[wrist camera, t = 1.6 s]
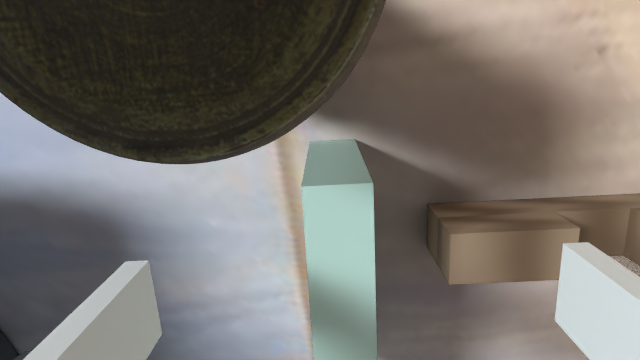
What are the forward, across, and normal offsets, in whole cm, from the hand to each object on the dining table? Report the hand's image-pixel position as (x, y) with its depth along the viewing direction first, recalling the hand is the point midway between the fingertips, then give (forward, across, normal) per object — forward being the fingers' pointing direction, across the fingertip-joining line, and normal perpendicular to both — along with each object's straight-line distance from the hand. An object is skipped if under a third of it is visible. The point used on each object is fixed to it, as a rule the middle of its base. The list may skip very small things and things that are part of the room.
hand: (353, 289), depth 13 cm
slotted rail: (+14, +14, -4) cm, 20 cm away
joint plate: (+14, 0, -4) cm, 14 cm away
